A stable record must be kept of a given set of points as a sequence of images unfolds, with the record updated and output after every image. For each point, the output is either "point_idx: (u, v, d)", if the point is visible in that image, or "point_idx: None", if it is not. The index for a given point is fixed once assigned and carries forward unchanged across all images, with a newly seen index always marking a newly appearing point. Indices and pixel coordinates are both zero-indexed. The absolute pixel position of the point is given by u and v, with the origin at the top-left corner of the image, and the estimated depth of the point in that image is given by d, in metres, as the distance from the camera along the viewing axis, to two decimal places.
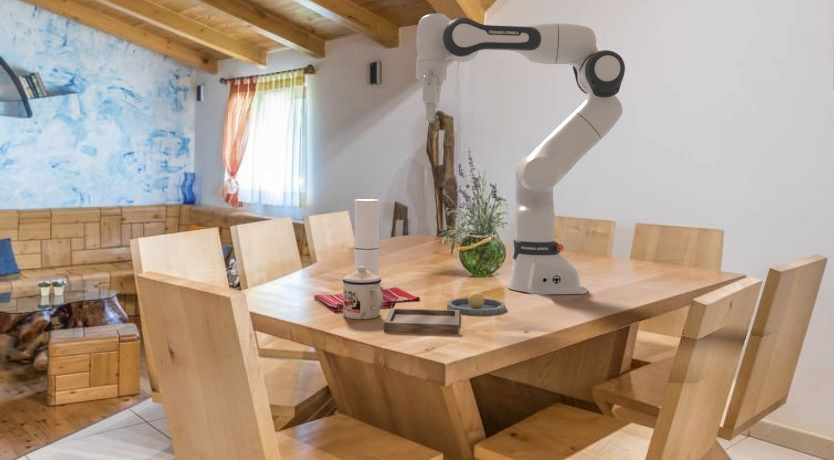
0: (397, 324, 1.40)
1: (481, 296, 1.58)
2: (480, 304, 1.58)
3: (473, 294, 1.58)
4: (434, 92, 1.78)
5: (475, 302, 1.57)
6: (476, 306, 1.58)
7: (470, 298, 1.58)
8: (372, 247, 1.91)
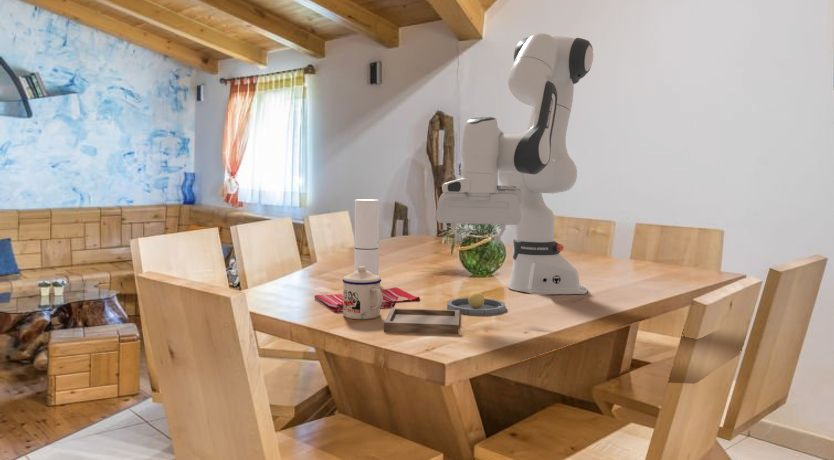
0: (397, 324, 1.40)
1: (481, 296, 1.58)
2: (480, 304, 1.58)
3: (473, 294, 1.58)
4: None
5: (475, 302, 1.57)
6: (476, 306, 1.58)
7: (470, 298, 1.58)
8: (372, 247, 1.91)
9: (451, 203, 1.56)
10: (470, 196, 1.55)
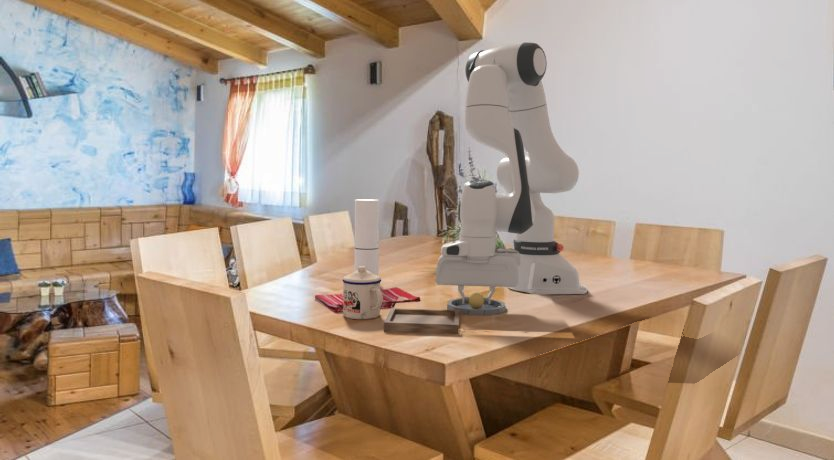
0: (397, 324, 1.40)
1: (481, 296, 1.58)
2: (480, 304, 1.58)
3: (473, 294, 1.58)
4: None
5: (475, 302, 1.57)
6: (476, 306, 1.58)
7: (470, 298, 1.58)
8: (372, 247, 1.91)
9: (450, 265, 1.57)
10: (469, 259, 1.56)
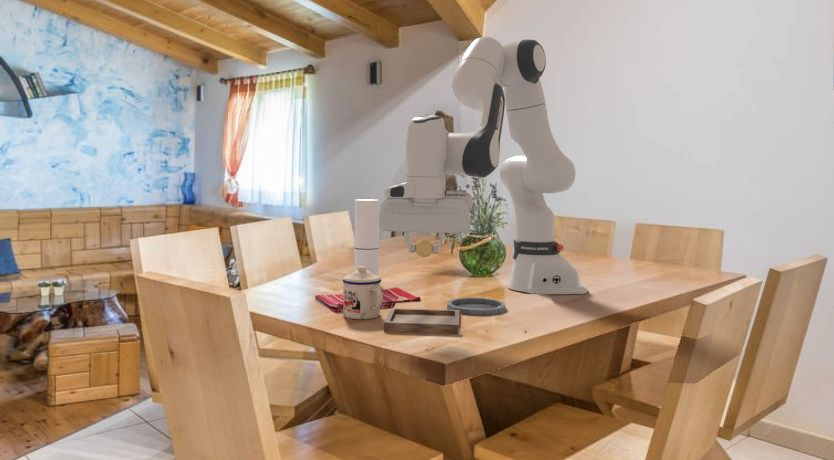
0: (397, 324, 1.40)
1: (429, 243, 1.44)
2: (428, 252, 1.43)
3: (420, 241, 1.44)
4: None
5: (423, 249, 1.43)
6: (423, 254, 1.43)
7: (417, 245, 1.44)
8: (372, 247, 1.91)
9: (394, 209, 1.43)
10: (415, 202, 1.42)
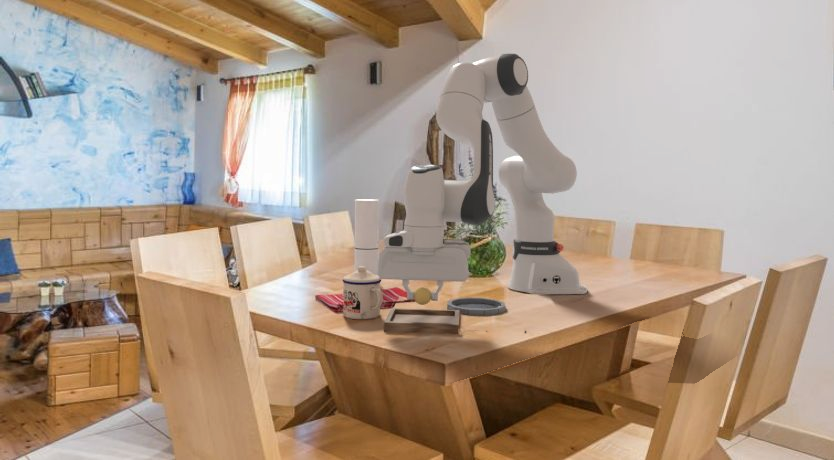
0: (397, 324, 1.40)
1: (427, 291, 1.45)
2: (426, 300, 1.44)
3: (419, 289, 1.45)
4: None
5: (421, 297, 1.44)
6: (422, 302, 1.44)
7: (415, 293, 1.45)
8: (372, 247, 1.91)
9: (393, 258, 1.44)
10: (413, 251, 1.43)
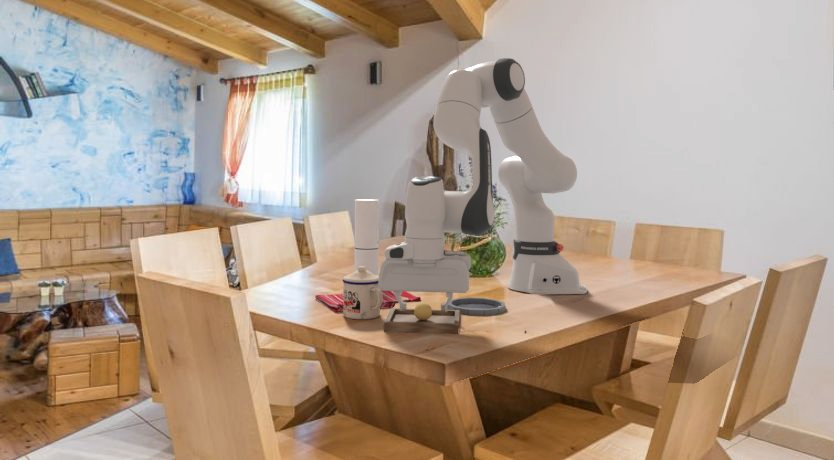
0: (397, 324, 1.40)
1: (427, 307, 1.45)
2: (427, 316, 1.45)
3: (419, 305, 1.45)
4: None
5: (421, 314, 1.44)
6: (423, 318, 1.45)
7: (416, 310, 1.45)
8: (372, 247, 1.91)
9: (394, 269, 1.44)
10: (414, 263, 1.43)
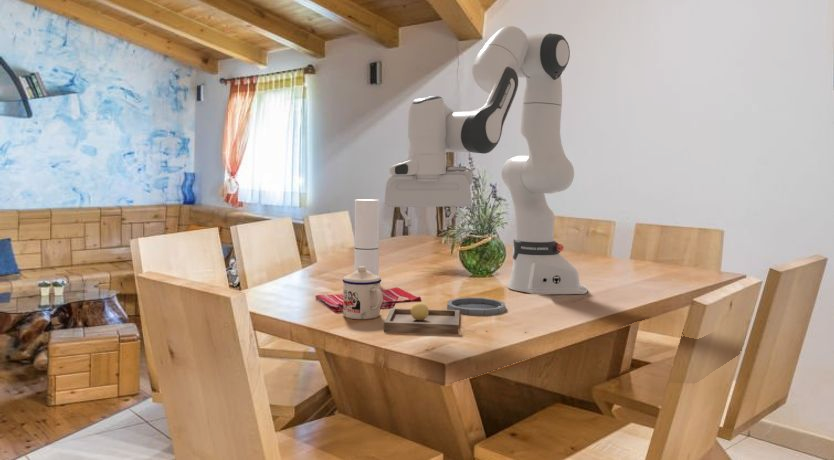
0: (397, 324, 1.40)
1: (422, 305, 1.45)
2: (424, 314, 1.45)
3: (413, 307, 1.45)
4: None
5: (418, 314, 1.44)
6: (421, 317, 1.45)
7: (412, 312, 1.45)
8: (372, 247, 1.91)
9: (399, 186, 1.52)
10: (418, 178, 1.50)
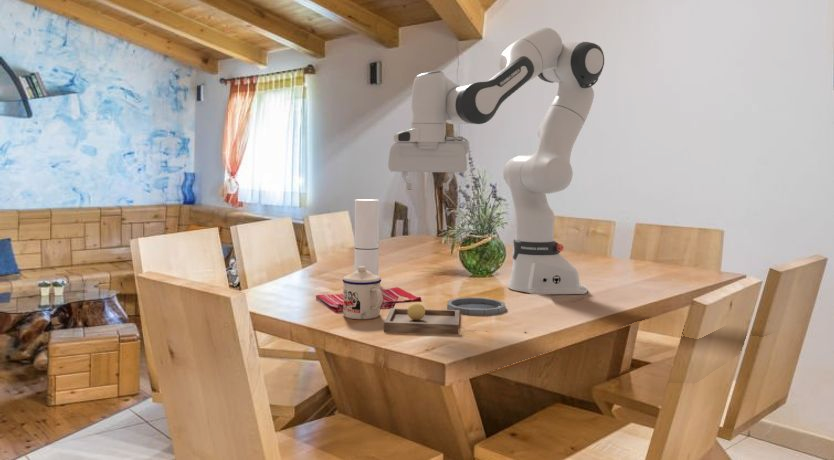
0: (397, 324, 1.40)
1: (415, 305, 1.45)
2: (421, 312, 1.45)
3: (408, 309, 1.46)
4: None
5: (415, 314, 1.44)
6: (419, 316, 1.45)
7: (409, 315, 1.45)
8: (372, 247, 1.91)
9: (402, 152, 1.66)
10: (419, 145, 1.65)
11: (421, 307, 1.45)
